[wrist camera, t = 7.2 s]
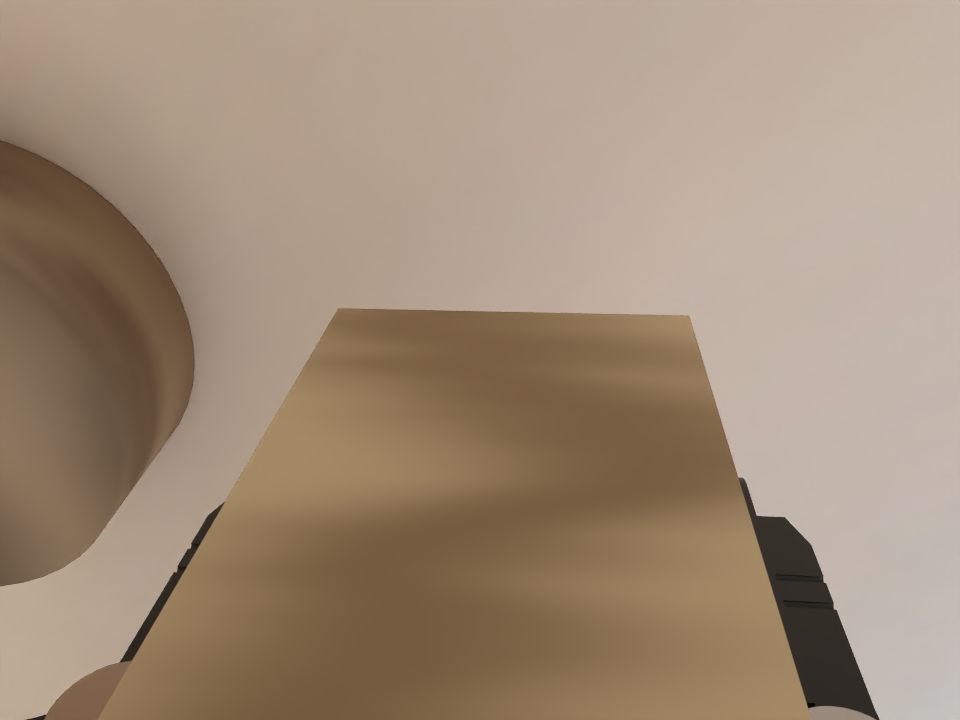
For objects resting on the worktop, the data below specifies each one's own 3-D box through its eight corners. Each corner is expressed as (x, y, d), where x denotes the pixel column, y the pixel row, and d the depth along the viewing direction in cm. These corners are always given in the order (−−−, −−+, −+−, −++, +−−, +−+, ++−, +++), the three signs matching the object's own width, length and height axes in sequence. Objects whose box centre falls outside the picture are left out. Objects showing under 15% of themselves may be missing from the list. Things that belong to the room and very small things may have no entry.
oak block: (688, 315, 11) (893, 991, 4) (658, 580, 13) (754, 1286, 7) (338, 309, 12) (-10, 902, 5) (369, 564, 14) (173, 1207, 7)
